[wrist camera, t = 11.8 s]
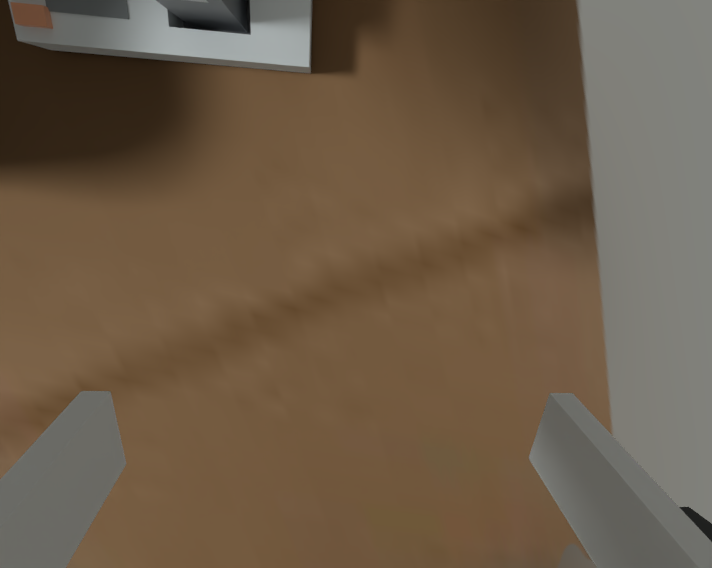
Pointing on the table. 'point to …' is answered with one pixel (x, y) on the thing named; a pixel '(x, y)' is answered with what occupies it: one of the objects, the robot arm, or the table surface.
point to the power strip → (169, 32)
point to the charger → (210, 13)
